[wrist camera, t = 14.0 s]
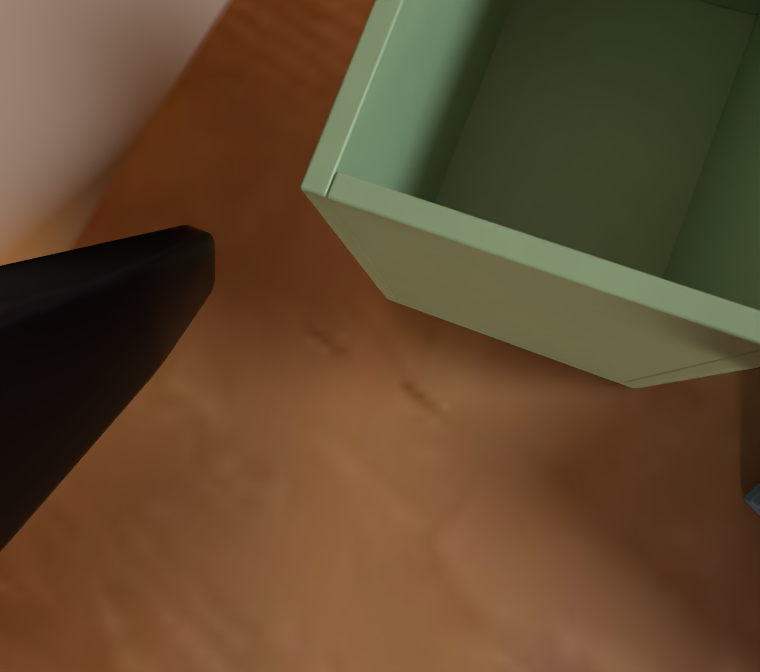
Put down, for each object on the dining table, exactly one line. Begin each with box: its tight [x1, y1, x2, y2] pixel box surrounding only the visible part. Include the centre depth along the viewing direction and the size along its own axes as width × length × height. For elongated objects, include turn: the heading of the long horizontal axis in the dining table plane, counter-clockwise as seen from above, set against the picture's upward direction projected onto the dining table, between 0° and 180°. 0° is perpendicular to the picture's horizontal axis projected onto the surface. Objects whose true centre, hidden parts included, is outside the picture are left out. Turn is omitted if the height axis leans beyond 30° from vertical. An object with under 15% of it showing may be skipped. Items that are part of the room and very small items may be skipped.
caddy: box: [301, 0, 760, 388], centre depth 13 cm, size 10×7×8 cm, turn 158°
